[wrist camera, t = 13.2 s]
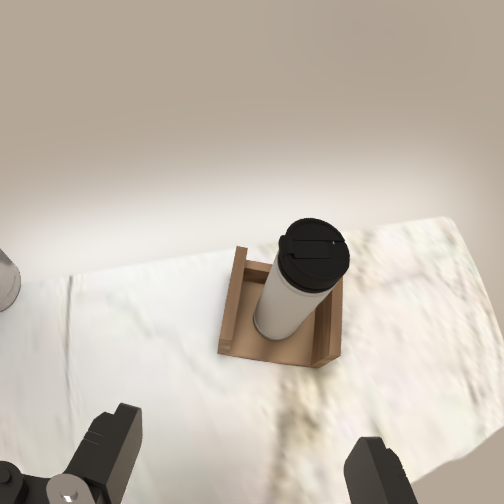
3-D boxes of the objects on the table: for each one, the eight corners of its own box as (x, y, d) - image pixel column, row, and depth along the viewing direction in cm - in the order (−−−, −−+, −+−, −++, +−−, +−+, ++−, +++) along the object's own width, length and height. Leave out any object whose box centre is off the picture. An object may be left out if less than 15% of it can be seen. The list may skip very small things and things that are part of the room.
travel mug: (248, 299, 44) (275, 212, 27) (294, 297, 45) (346, 214, 28) (252, 343, 41) (286, 279, 24) (300, 339, 42) (363, 276, 25)
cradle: (217, 353, 41) (219, 338, 34) (231, 274, 47) (236, 246, 40) (318, 368, 41) (340, 356, 34) (323, 290, 48) (342, 265, 41)
